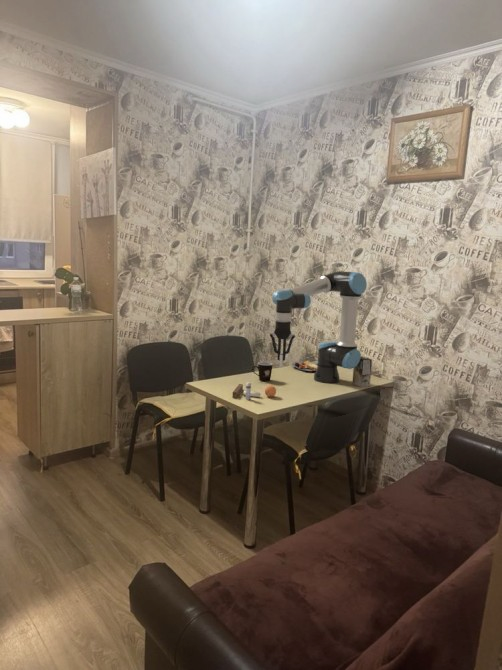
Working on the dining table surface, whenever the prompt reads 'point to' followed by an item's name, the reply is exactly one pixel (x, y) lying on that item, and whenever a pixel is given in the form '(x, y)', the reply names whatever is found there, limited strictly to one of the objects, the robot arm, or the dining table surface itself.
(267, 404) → the dining table surface
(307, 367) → the food plate
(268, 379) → the coffee mug
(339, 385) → the dining table surface
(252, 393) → the pin
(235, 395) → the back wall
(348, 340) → the robot arm
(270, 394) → the ball
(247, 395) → the side pin
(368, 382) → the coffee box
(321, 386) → the dining table surface
